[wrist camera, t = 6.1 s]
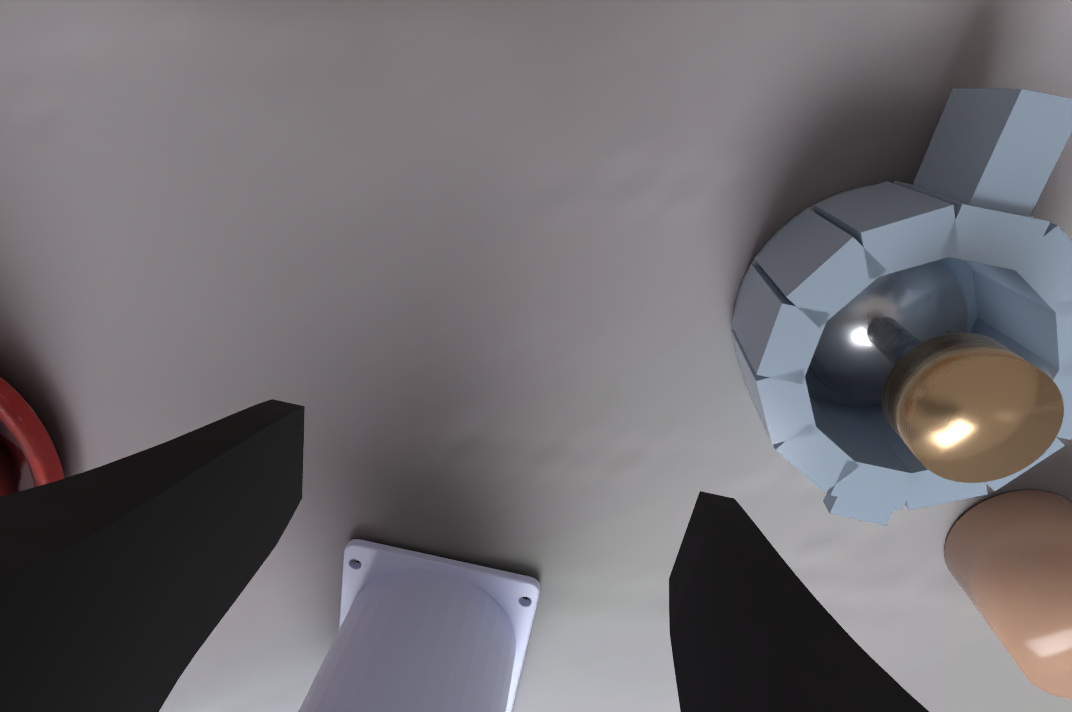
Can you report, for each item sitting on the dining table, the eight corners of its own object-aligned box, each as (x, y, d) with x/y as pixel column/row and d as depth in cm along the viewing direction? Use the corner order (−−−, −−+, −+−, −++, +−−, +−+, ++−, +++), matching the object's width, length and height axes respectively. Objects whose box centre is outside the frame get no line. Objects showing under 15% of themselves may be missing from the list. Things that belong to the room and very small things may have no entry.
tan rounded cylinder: (1054, 599, 23) (1150, 708, 19) (926, 585, 23) (995, 689, 19) (1109, 498, 21) (1228, 594, 17) (970, 482, 22) (1056, 574, 18)
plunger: (919, 406, 20) (1038, 530, 14) (776, 376, 20) (839, 488, 15) (987, 267, 18) (1155, 349, 13) (829, 236, 18) (924, 302, 13)
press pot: (932, 467, 22) (1001, 550, 18) (696, 418, 22) (715, 489, 18) (1113, 122, 17) (1260, 133, 13) (812, 63, 17) (870, 58, 13)
